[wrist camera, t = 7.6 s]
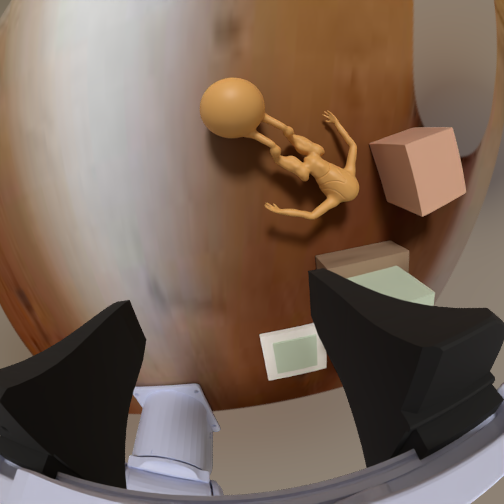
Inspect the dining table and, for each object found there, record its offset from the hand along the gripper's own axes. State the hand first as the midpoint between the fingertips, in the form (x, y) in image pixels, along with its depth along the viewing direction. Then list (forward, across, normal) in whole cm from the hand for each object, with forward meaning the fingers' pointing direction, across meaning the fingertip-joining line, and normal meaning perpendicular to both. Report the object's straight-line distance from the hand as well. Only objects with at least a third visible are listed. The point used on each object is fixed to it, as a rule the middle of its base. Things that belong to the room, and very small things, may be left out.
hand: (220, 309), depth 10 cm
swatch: (+10, -4, +13) cm, 17 cm away
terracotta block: (+10, -15, -4) cm, 19 cm away
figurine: (+7, -1, -10) cm, 12 cm away
